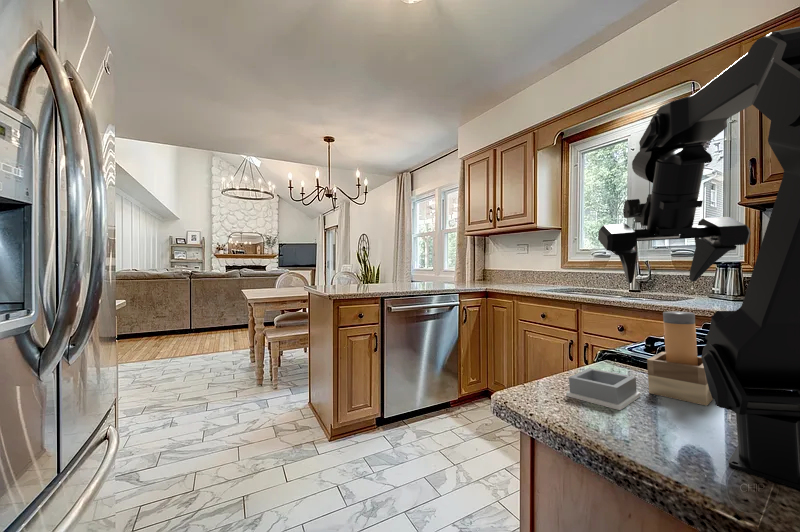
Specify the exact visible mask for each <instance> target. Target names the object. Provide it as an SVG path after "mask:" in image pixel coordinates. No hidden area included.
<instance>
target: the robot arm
mask: <svg viewBox="0 0 800 532" xmlns="http://www.w3.org/2000/svg"><path fill="white" fill-rule="evenodd" d="M751 106H753V107H755V108H756V109H757V110H758V111H759V112H760V113H762V114H763V115H764V116H765V117H767V119H769V121H770V125H769V126H770V127H769V131H768V137H767V143H768V145H769V147H770V148H771V150H772V151H773V154H774V155H775V157H776V159H777V161H778V163H779V164H780V166H781V168H782V169H783V174H782V178H781V182H780V184H779V188H778V191H777V195H776V198H775V201H774V204H773V207H772V210H771V212H770V216H769V219H768V221H767V226H766V229H765V232H764V235H763V238H762V242H761V245H760V248H759V250H758V255H757V257H756V260H755V264H754V266H753V270H752V272H751V276H750V279H749V282H748V284H747V288H746V292H745V295H744V298H743V300H742V303H741V305H740V307H739V308H738V309H736V310H717V311H715V313H714V314H713V315H712V316H711V320H710V326H709V329H708V332H707V334H706V335H705V336H704V338H705V340H706V343H705V345H704V346H703V348H702V354H701V355H700V357H701V358H702V362H703V366H704V370H705V374H706V378H707V383H708V387H709V391H710V392H711V396H712V398H713V400H714V405H715V406H716V407H718V408H721V409H726V410H730V411H731V412H733V413H735V415H736V417H735V418H736V433H737V435H736V436H737V446H736V447H735V449H734V451H733V452H732V454H731V456H730V458H729V459H728V466H729V467H730V468H732V469H734V470H737V471H741V472H744V473H747V474H749V475H753V476H755V477H759V478H763V479H766V480H769V481H772V482H775V483H778V484H781V485H785V486H788V487H791V488H793V489H798V490H800V26H796V27H791V28H786V29H781V30H775V31H772V32H769V33H768V34H766V35H765V36H762V37H760V38H758V39H756V40H755V41H754V42H753V44H752V45H751V47H750V49H749V50H748V52H747V53H745V54H744V55H743V56H742V57H740V58H739V59H738V60H736V61H735V62H734V63H733V64H731V65H730V66H728V68H726V69H725V70H723V71H722V72H721V73H720V74H719V75H717V76H716V77H714V78H713V79H712V80H711V81H709V82H708V83H707V84H706V85H704V86H703V87H702V88H701V89H699V90H698V91H697V92H695V93H694V94H691V95H688V96H686V97H681V98H678V99H674V100H671V101H669V102H667V103H665V104H663V105H661V106H659V107H658V109H657V110H656V112H655V113H654V114H653V116H652V117H651V119H650V122H649V124H648V125H647V127H646V129H645V130H644V133H643V134H642V137H641V138H640V140H639V141H638V143H639V151H638V152H637V153H636V154H635V156H634V158H633V160H632V162H631V167H632V171H633V172H634V174H635V175H636V176H638V177H639V178H642V179H644V180H646V181H648V182H650V183H652V189H651V194H650V193H649V194H647V197H646V201H645V202H644V203H641V199H639V198H636V199H634V198H633V199H625V200H624V203H623V209H622V210H623V211H622V212H623V218H624V219H634V223H636V224H637V223H638V224H639V223H640V225H641V226H642V227H646V228H641V229H633V228H631V227H630V226H629V225H628V224H627V223H617V224H616V223H615V224H603V225H602V226H601V227H600V228H599V230H598V237H597V240H598V241H599V242H600V245H601V246H603V248H604V249H605V250H606V251H609V252H612V253H613V254H614V255H616V256H618V257H619V259H620V262H621V266H622V268H623V272H624V275H625V278H626V282H627V283H628V284H632V283H633V280H634V277H635V270H636V263H637V255H638V252H637V250H635V247H636V246H637V243H638V242H647V241H649V242H651V241H666V240H668V241H669V240H682V239H683V240H684V239H694V244H695V250H694V253H693V257H692V262H691V266H690V269H689V278H688V279H689V281H691V282H696V281H697V280H698V279H699V278H700V277H702V275H703V274H704V273H706V272H707V270H708V269H709V268H710V267H712V266H713V264H715V263H716V262H717V261H718V260H720V258H722V257H723V256H724V255H726V254H727V253H728V252H730V251H736V250H737V246H743V245H744V246H745V245H747V244H749V242H750V238H751V234H752V233H751V229H750V227H749V226H748V225H747V224H745V223H743V222H741V221H739V220H737V219H734V218H732V217H730V216H719V217H715V216H714V217H703V218H701V219H700V220H699V221H698V222H697V225H695V224H694V221H695V216H696V210H697V208H702V206H703V199H702V198H699V196H700V190H701V185H702V179H703V175H704V170H705V169H704V168H705V166H706V164H710V163H712V162H713V157H712V155H711V153H710V152H708V151H707V150H706V149H705V146H704V145H705V144H706V143H707V142H709V141H712V140H714V138H716V137H717V136H718V135H719V134H720V133H722V132H723V131H725V130H726V128H727V127H728V120H729V119H730V118H731V117H733V116H735V115H736V114H738V113H740V112H742V111H743V110H746V109H747V108H750V107H751ZM745 389H756V390H759V389H760V390H779V391H780V390H781V391H784V390H785V391H797V393H779V392H777V393H776V392H772V393H771V392H758V391H757V392H753V391H745Z"/></svg>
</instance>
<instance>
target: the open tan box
mask: <svg viewBox="0 0 800 532" xmlns="http://www.w3.org/2000/svg"><path fill="white" fill-rule="evenodd" d="M697 358H698V366H695V365H688V364H681V363H675V362H668V361H666V354H665V351H661V352H659V353H656V354H655V355H653V356H651V357H649V358H647V359H646V363H647V366H646V367H647V378H648V382H647V383H648V393H649V394H651V395H655V396H660V397H661V396H662V397H666V398H669V399H675V400H678V401H683V402H688V403H692V404H698V405H701V406H702V405H703V406H709V404H710V403H711V402H712V401H713V400H714V399H713V398H712V396H711V392H710V391H709V387H708V383H707V378H706V374H705V370H704V366H703V362H702V358H701V356H698V355H697Z"/></svg>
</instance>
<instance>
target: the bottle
mask: <svg viewBox="0 0 800 532" xmlns="http://www.w3.org/2000/svg"><path fill="white" fill-rule="evenodd" d="M662 316H663V317H662V319H663V333H664V336H663V337H664V349H665V350H664V352H665V354H666V361H668V362H675V363H681V364H688V365H695V366H698V358H697V356H698V345H697V344H698V343H697V329H696V314H695V313H694V312H689V311H677V310H676V311H673V310H672V311H663V312H662Z"/></svg>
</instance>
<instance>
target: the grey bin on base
mask: <svg viewBox="0 0 800 532" xmlns="http://www.w3.org/2000/svg"><path fill="white" fill-rule="evenodd" d="M568 383H569V385H568V386H569V387H568V388H569V390H568V391H566V392H565V394H566V395H565V396H566V397H569V398H572V399H577V400H581V401H585V402H588V403H592V404H595V405H599V406H602V407H605V408H606V407H607V408H609V409H614V410H617V411H622V410H624V409H625V408H626V407H627V406H629V405H630V404H632V403H633V402H634V401H636V400H637V399H639V398H641V396H642V395H641V392H640V391H637V378H636V376H633V375H632V376H631V375H627V374H622V373H617V372H611V371H607V370H601V369H597V368H590V367H588V368H586V369H584V370H582V371H580V372H578V373H575V374H573V375H569V377H568Z"/></svg>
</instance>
